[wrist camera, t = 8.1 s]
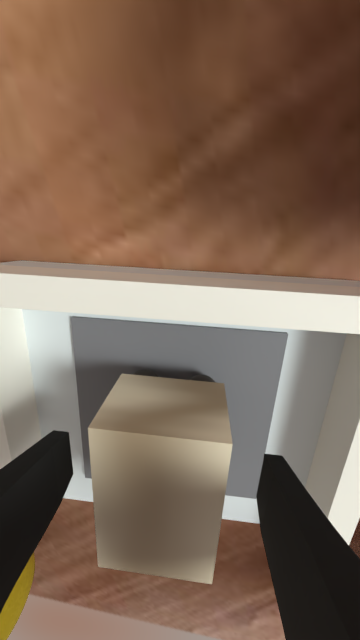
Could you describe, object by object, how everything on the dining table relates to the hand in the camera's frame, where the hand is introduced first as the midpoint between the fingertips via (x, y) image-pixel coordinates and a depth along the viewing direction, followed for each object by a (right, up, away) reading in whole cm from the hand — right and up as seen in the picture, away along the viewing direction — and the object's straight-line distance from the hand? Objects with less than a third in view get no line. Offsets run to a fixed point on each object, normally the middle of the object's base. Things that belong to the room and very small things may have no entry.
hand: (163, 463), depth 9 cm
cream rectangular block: (0, +1, +3) cm, 3 cm away
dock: (0, +1, +5) cm, 5 cm away
